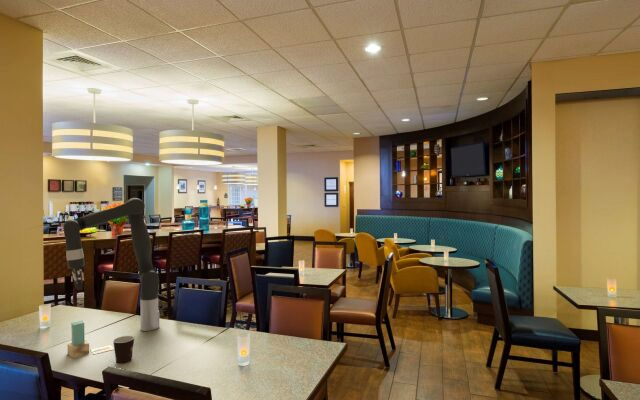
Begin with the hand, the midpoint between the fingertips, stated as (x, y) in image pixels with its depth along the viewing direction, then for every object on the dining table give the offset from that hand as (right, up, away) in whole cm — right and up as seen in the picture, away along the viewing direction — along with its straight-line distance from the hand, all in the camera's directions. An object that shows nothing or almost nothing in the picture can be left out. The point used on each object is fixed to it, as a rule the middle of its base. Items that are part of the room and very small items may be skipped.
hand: (79, 288), depth 197 cm
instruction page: (+18, -28, -11) cm, 35 cm away
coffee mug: (+36, -28, -22) cm, 50 cm away
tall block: (+9, -23, -15) cm, 29 cm away
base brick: (+9, -28, -15) cm, 33 cm away
